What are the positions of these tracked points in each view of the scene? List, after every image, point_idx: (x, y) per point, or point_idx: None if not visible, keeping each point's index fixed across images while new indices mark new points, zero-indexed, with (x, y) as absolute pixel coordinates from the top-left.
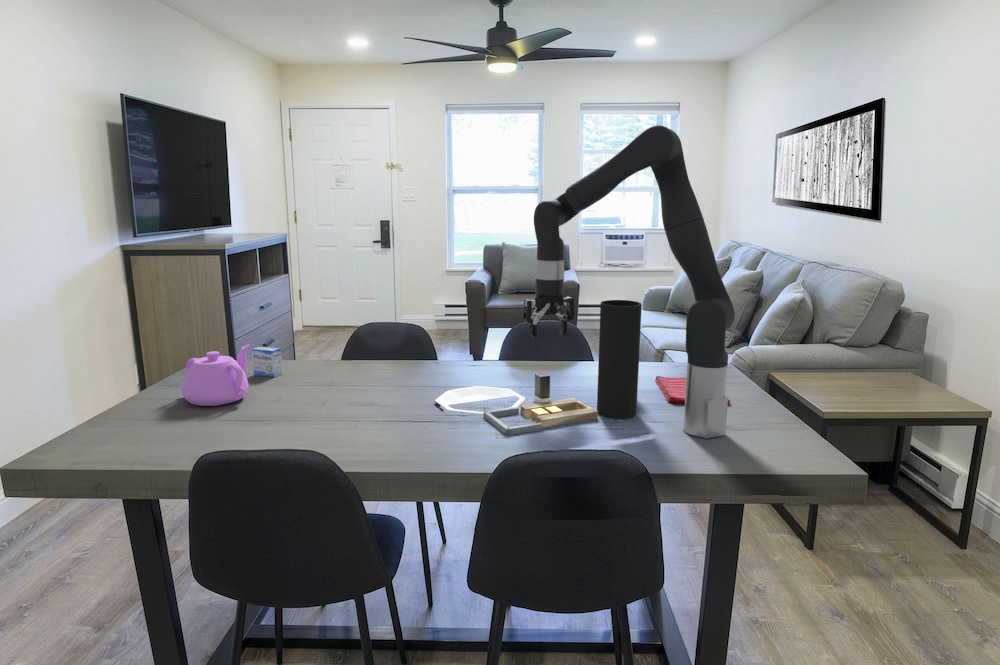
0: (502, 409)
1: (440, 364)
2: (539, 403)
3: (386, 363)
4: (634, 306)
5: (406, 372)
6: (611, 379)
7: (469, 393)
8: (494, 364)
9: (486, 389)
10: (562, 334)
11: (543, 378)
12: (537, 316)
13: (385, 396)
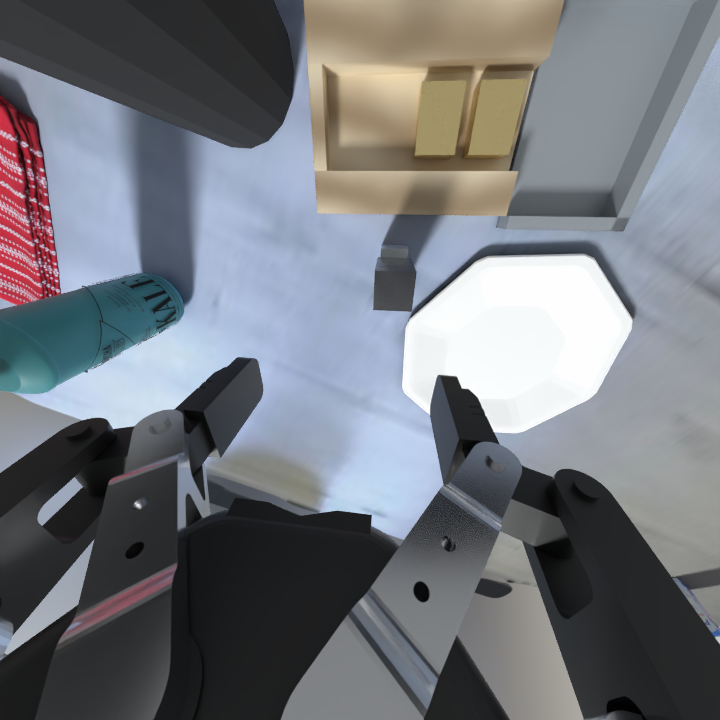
0: (560, 225)
1: None
2: (442, 208)
3: (490, 560)
4: None
5: None
6: None
7: (486, 408)
8: (343, 505)
9: None
10: (253, 365)
11: (401, 270)
12: (490, 517)
13: (626, 460)
